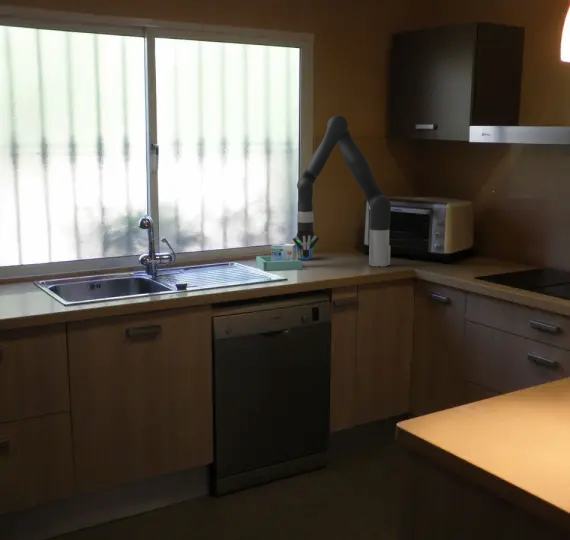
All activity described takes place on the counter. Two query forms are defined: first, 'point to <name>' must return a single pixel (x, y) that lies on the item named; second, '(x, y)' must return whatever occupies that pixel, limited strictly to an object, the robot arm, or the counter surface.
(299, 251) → the snack cup
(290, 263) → the corral
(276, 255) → the light bulb box
